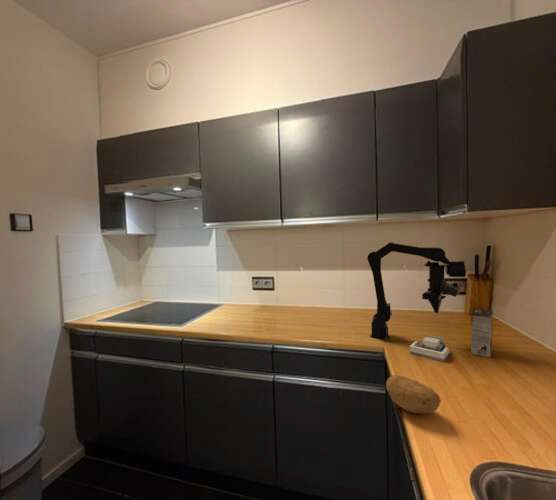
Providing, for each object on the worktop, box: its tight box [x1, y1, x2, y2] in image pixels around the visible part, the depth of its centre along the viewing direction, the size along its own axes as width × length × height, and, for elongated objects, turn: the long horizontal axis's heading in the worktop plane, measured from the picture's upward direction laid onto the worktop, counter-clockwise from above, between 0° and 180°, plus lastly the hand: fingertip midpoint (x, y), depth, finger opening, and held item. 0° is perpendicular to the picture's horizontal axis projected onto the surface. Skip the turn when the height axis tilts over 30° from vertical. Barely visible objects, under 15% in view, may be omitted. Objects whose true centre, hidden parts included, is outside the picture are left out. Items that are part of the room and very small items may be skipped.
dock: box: [409, 340, 452, 363], centre depth 115 cm, size 12×11×3 cm
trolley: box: [419, 334, 446, 352], centre depth 115 cm, size 8×8×5 cm
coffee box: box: [470, 307, 493, 358], centre depth 114 cm, size 9×6×16 cm
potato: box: [385, 374, 442, 415], centre depth 79 cm, size 10×14×8 cm
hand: (436, 312), depth 125 cm, fingers closed
